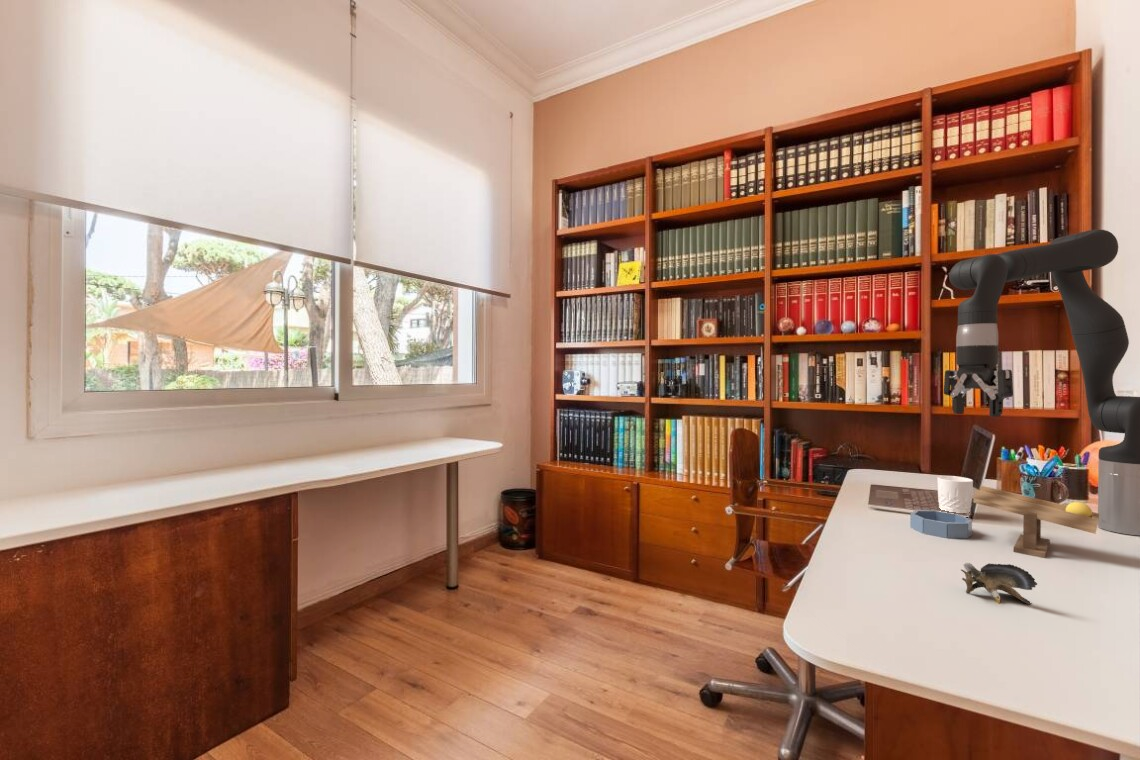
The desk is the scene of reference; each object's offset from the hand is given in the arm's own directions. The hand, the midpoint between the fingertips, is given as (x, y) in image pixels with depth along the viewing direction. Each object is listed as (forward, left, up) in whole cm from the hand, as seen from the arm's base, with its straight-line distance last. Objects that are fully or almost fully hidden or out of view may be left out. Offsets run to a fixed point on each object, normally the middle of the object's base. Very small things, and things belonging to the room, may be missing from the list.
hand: (976, 415), depth 117 cm
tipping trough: (-11, +4, -22) cm, 25 cm away
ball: (-13, +12, -20) cm, 26 cm away
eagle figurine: (+25, +25, -30) cm, 46 cm away
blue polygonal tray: (0, -9, -29) cm, 31 cm away
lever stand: (-9, +5, -29) cm, 31 cm away
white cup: (-17, -20, -30) cm, 39 cm away
